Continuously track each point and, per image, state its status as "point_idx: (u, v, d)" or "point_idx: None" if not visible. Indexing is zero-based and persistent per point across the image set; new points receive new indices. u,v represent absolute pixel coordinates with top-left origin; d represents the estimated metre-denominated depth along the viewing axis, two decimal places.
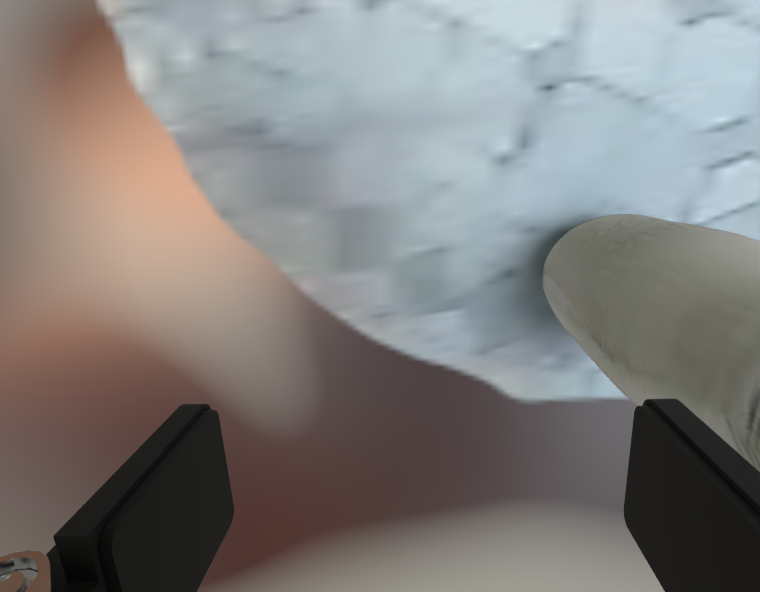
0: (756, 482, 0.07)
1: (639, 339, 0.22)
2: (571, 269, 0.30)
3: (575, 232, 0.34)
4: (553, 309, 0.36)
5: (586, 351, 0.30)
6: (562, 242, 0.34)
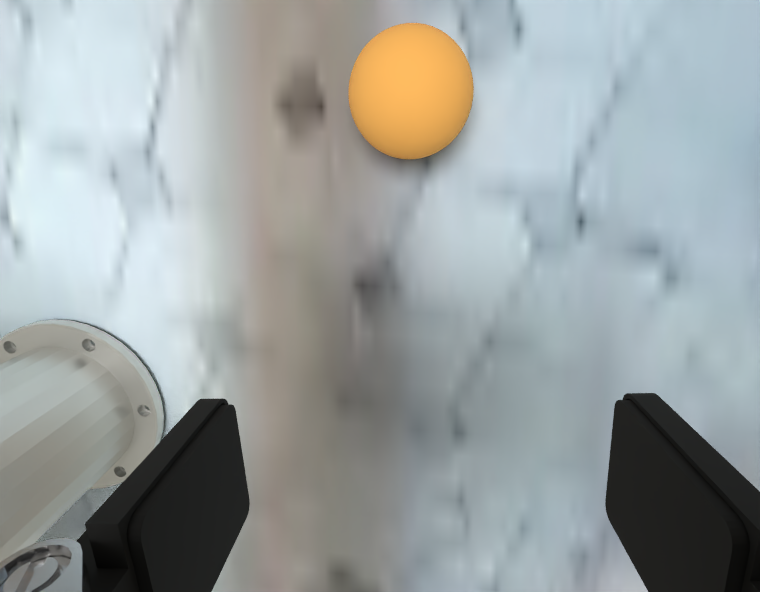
0: (724, 472, 0.07)
1: None
2: None
3: None
4: None
5: None
6: None
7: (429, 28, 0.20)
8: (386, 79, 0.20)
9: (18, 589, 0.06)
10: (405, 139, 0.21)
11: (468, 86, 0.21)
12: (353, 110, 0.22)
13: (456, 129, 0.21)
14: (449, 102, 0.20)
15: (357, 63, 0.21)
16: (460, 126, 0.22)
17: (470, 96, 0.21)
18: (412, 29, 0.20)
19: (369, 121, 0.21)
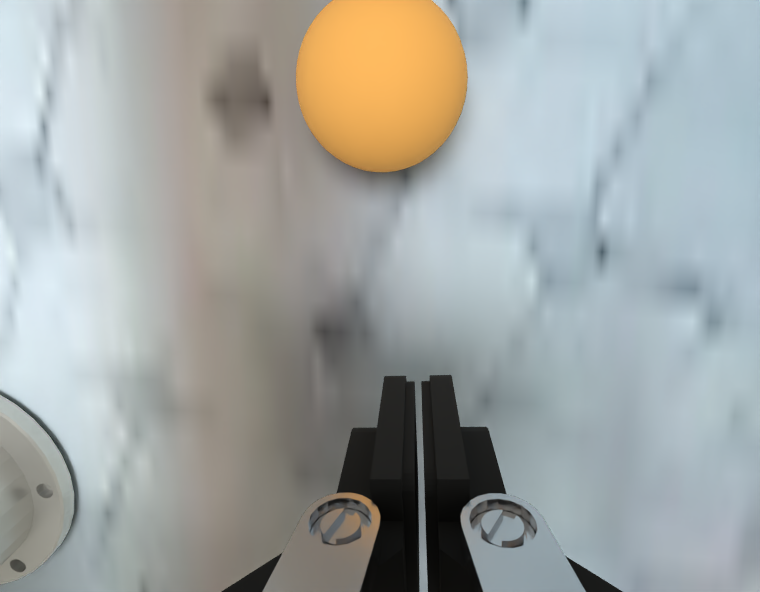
0: (449, 436, 0.08)
1: None
2: None
3: None
4: None
5: None
6: None
7: None
8: (344, 59, 0.14)
9: (337, 534, 0.07)
10: (373, 145, 0.15)
11: (461, 72, 0.15)
12: (302, 104, 0.15)
13: (444, 132, 0.16)
14: (435, 93, 0.14)
15: (305, 38, 0.15)
16: (450, 128, 0.16)
17: (463, 86, 0.15)
18: None
19: (323, 119, 0.15)
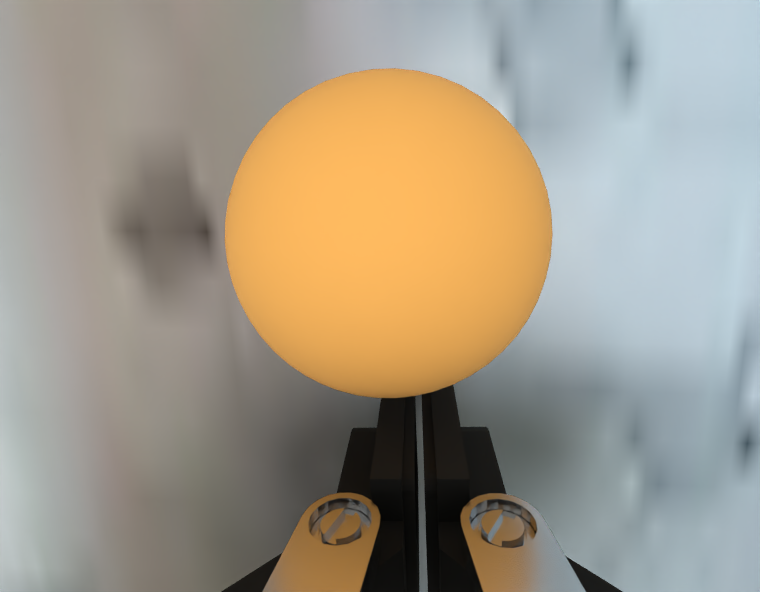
0: (449, 436, 0.08)
1: None
2: None
3: None
4: None
5: None
6: None
7: (433, 87, 0.07)
8: (303, 256, 0.06)
9: (337, 534, 0.07)
10: (375, 390, 0.07)
11: (547, 241, 0.07)
12: (238, 297, 0.08)
13: (510, 342, 0.08)
14: (501, 304, 0.07)
15: (234, 185, 0.07)
16: None
17: (548, 261, 0.08)
18: (383, 95, 0.06)
19: (273, 343, 0.08)
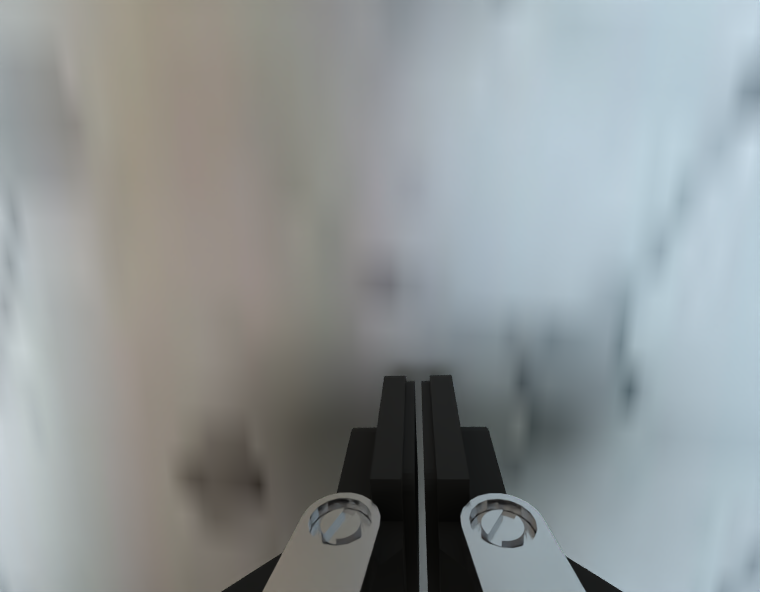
0: (449, 436, 0.08)
1: None
2: None
3: None
4: None
5: None
6: None
7: None
8: None
9: (336, 534, 0.07)
10: None
11: None
12: None
13: None
14: None
15: None
16: None
17: None
18: None
19: None
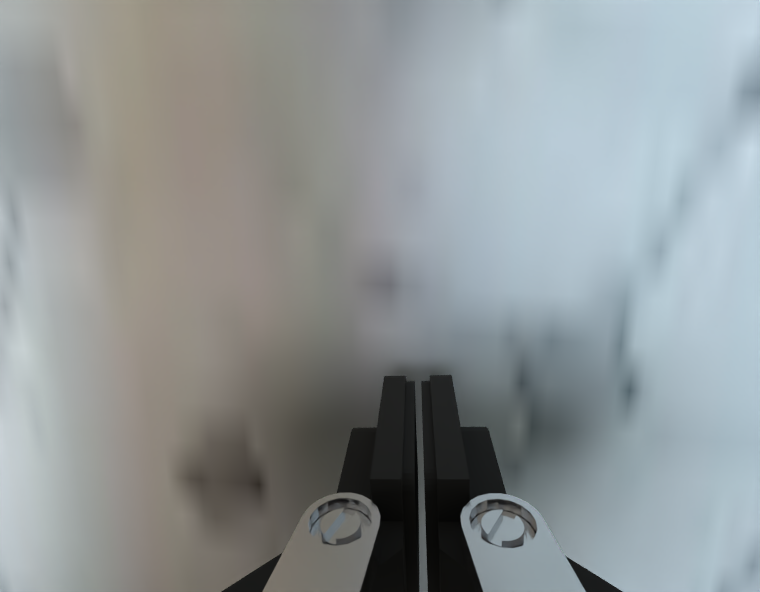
0: (449, 436, 0.08)
1: None
2: None
3: None
4: None
5: None
6: None
7: None
8: None
9: (336, 534, 0.07)
10: None
11: None
12: None
13: None
14: None
15: None
16: None
17: None
18: None
19: None
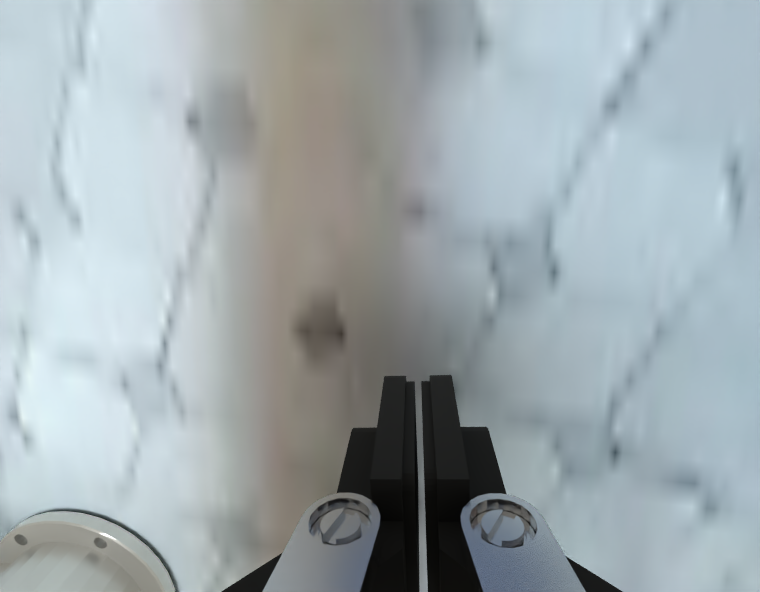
0: (449, 436, 0.08)
1: None
2: None
3: None
4: None
5: None
6: None
7: None
8: None
9: (337, 534, 0.07)
10: None
11: None
12: None
13: None
14: None
15: None
16: None
17: None
18: None
19: None
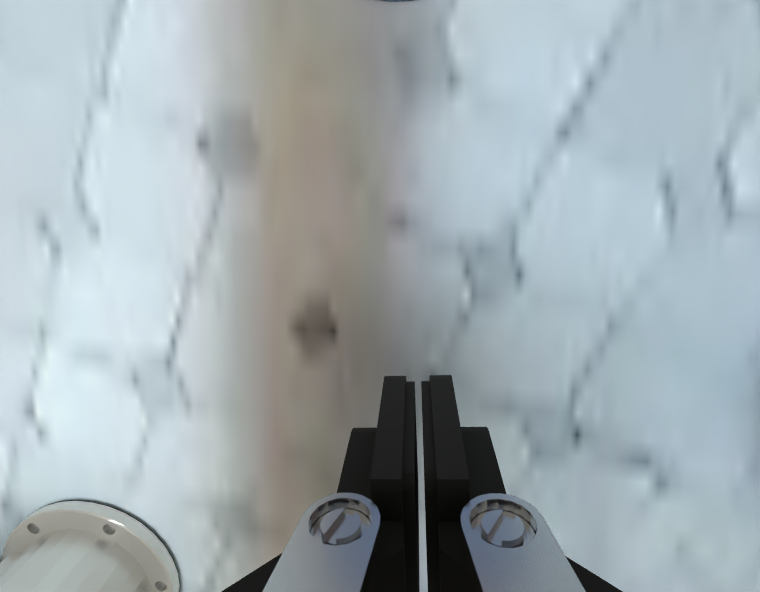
0: (449, 436, 0.08)
1: None
2: None
3: None
4: None
5: None
6: None
7: None
8: None
9: (337, 534, 0.07)
10: None
11: None
12: None
13: None
14: None
15: None
16: None
17: None
18: None
19: None
